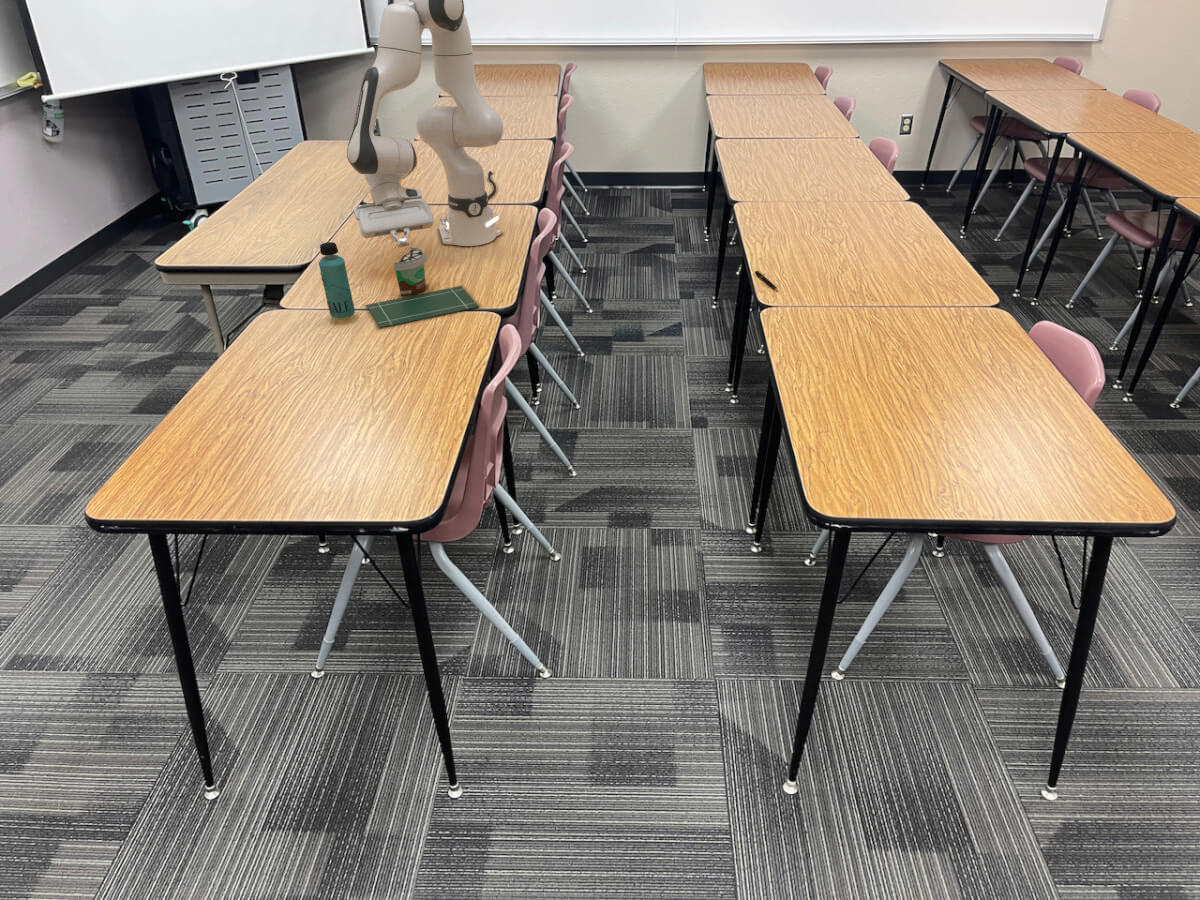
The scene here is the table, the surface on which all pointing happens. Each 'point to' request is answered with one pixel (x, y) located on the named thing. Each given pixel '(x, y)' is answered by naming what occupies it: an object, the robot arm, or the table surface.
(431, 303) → the cutting mat
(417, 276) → the grey green half-round piece
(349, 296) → the beverage bottle
